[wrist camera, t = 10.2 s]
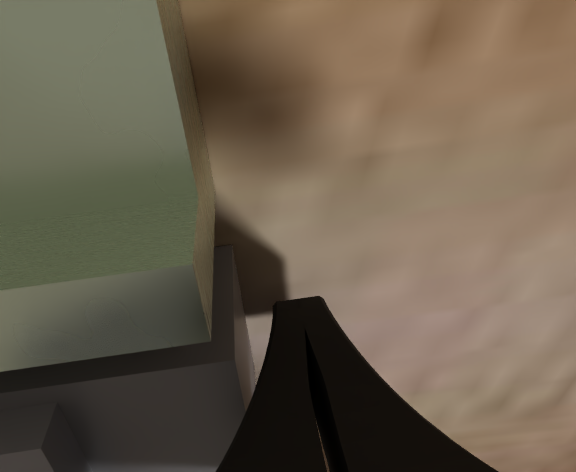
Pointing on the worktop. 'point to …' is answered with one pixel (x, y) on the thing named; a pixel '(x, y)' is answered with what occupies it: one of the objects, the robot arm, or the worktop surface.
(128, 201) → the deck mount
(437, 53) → the worktop surface
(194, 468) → the stepped gray box
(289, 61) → the worktop surface
